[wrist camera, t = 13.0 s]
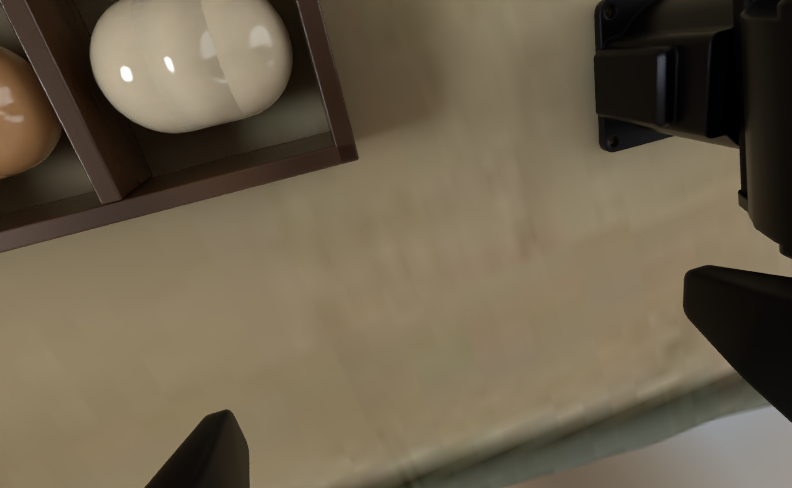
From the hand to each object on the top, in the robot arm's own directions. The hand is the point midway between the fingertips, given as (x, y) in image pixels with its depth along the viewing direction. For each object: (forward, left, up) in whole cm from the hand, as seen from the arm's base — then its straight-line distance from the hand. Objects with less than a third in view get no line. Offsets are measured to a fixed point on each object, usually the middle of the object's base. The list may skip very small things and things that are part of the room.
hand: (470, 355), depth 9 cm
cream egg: (+5, -6, -13) cm, 15 cm away
